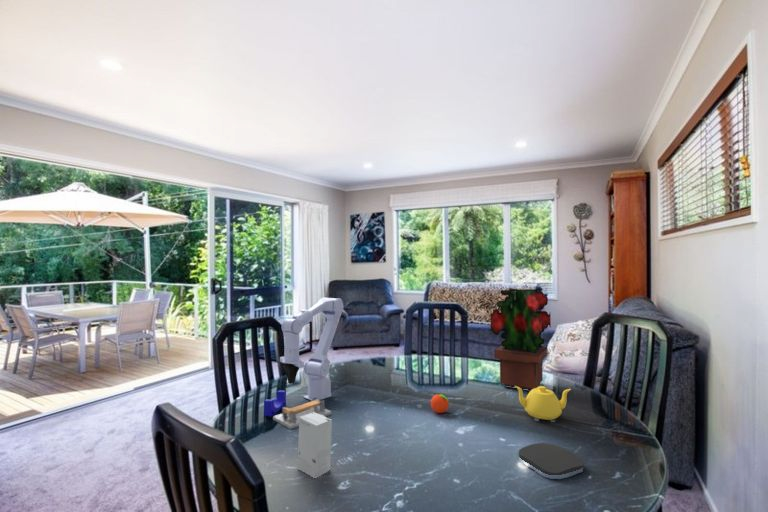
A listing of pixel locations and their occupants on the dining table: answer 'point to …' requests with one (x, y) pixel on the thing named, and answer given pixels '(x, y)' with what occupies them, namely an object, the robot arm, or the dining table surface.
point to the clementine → (439, 403)
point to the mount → (293, 418)
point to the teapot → (543, 403)
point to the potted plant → (521, 337)
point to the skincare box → (314, 444)
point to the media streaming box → (551, 458)
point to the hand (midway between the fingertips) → (291, 382)
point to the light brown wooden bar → (302, 406)
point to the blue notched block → (275, 404)
